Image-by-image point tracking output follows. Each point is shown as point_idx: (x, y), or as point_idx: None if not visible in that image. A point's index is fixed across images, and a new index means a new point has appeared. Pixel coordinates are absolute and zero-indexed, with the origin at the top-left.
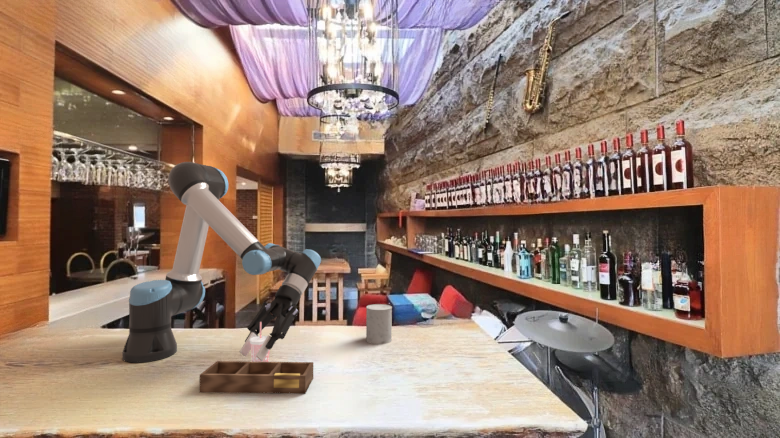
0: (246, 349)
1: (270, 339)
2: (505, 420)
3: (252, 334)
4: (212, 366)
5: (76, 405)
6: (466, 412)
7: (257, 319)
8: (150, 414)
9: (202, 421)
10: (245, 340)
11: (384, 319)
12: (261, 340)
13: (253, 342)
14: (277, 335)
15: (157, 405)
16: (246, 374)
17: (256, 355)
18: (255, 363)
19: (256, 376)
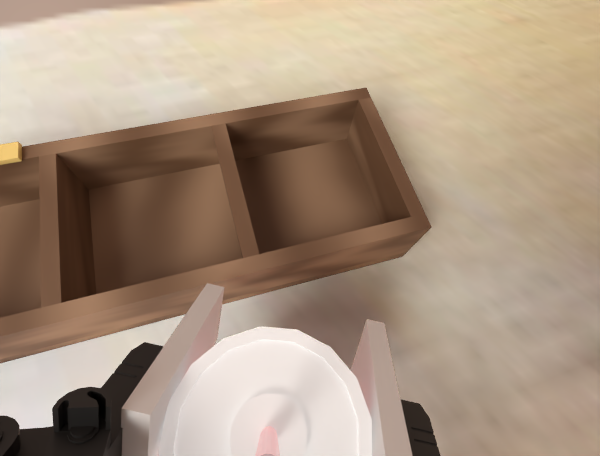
0: (361, 370)
1: (124, 400)
2: None
3: (382, 449)
4: (391, 165)
5: (581, 20)
6: None
7: None
8: (366, 20)
9: (207, 19)
10: (424, 415)
11: None
12: (237, 399)
13: (280, 330)
14: (22, 437)
15: (395, 53)
16: (169, 130)
17: (217, 286)
18: (210, 267)
19: (116, 134)
